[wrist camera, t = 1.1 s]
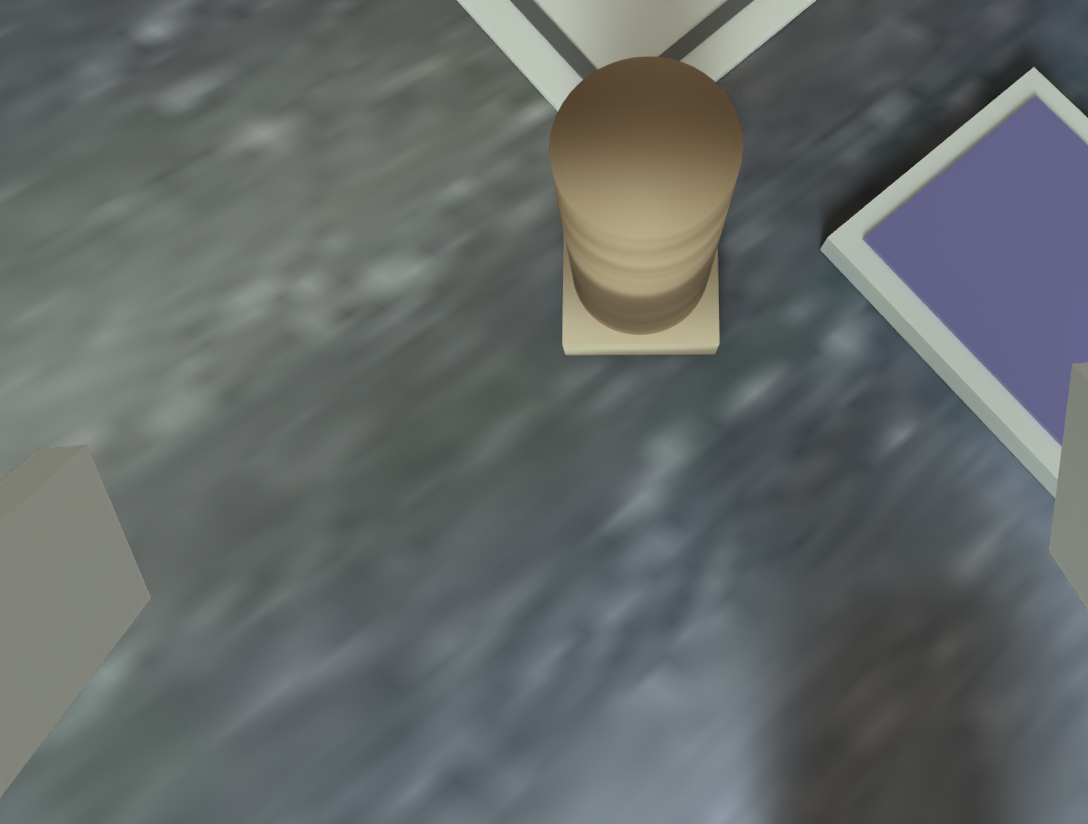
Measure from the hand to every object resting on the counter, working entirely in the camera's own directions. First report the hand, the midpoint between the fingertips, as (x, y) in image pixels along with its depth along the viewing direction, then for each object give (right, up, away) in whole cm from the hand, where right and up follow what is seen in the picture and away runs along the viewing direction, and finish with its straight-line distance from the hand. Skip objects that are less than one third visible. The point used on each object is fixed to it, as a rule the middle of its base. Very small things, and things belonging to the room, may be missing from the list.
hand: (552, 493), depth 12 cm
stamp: (+3, +5, +19) cm, 20 cm away
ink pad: (+17, +5, +18) cm, 25 cm away
